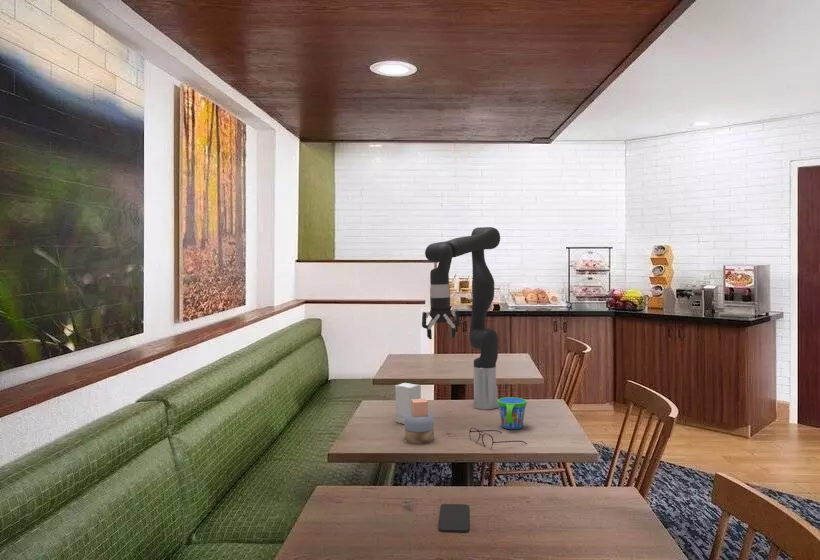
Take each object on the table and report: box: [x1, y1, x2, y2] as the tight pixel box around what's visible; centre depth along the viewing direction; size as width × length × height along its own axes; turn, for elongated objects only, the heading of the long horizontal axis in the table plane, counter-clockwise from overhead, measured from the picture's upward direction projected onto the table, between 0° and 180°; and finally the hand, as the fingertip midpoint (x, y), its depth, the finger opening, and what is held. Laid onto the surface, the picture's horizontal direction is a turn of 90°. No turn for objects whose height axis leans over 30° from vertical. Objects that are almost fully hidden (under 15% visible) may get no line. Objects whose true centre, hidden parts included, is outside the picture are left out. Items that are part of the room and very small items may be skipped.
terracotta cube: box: [411, 398, 429, 417], centre depth 210 cm, size 5×5×5 cm
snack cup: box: [498, 396, 527, 430], centre depth 223 cm, size 16×10×10 cm
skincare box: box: [394, 382, 421, 425], centre depth 231 cm, size 8×6×15 cm
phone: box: [437, 503, 470, 534], centre depth 148 cm, size 7×1×15 cm
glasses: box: [469, 427, 528, 449], centre depth 207 cm, size 14×15×5 cm
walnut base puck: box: [404, 428, 435, 445], centre depth 210 cm, size 10×10×4 cm
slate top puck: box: [404, 411, 435, 432], centre depth 210 cm, size 10×10×4 cm
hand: (441, 338), depth 230 cm, fingers open, 8 cm apart
